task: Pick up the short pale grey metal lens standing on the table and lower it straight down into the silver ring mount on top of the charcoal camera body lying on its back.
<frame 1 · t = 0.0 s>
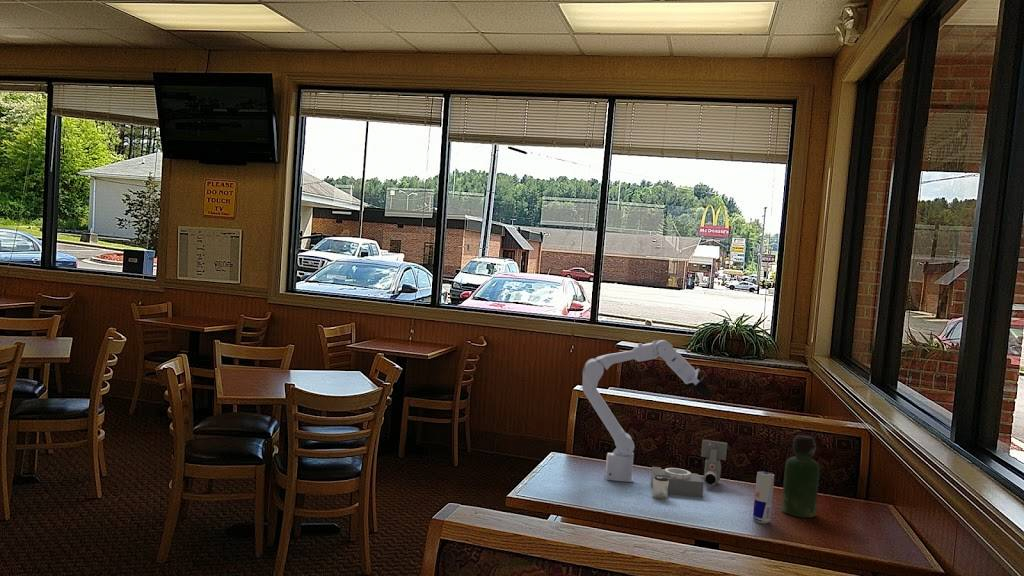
hand: (708, 395, 283), 32 cm above the table, tool tilted 50°, fingers open, 7 cm apart
mount block: (675, 490, 276), on the table
beverage can: (761, 522, 248), on the table
green bottle: (797, 514, 261), on the table
camera: (710, 485, 288), on the table
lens: (659, 497, 266), on the table
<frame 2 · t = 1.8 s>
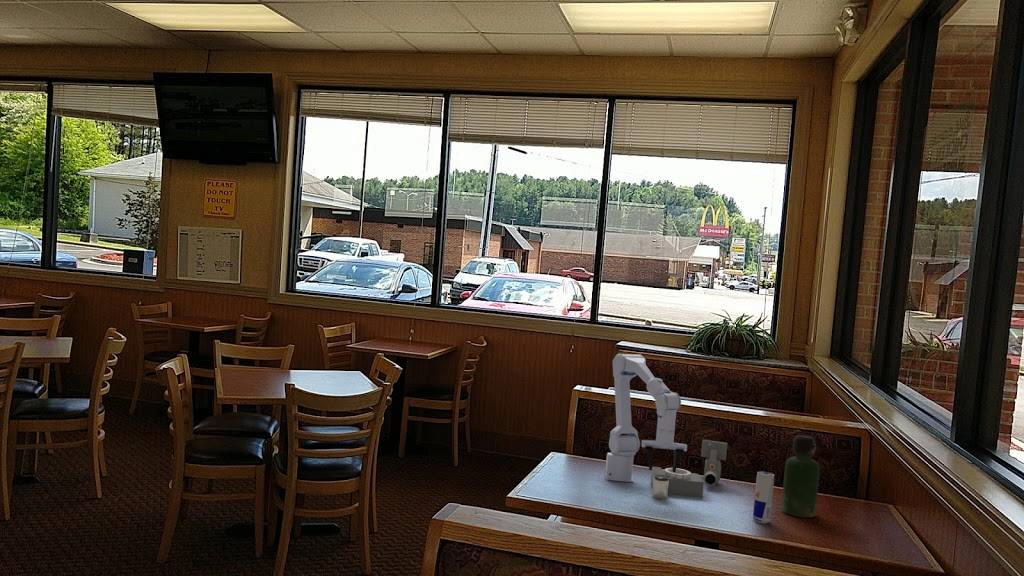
hand: (662, 470, 265), 9 cm above the table, tool pointing down, fingers open, 7 cm apart
nothing on the table moved.
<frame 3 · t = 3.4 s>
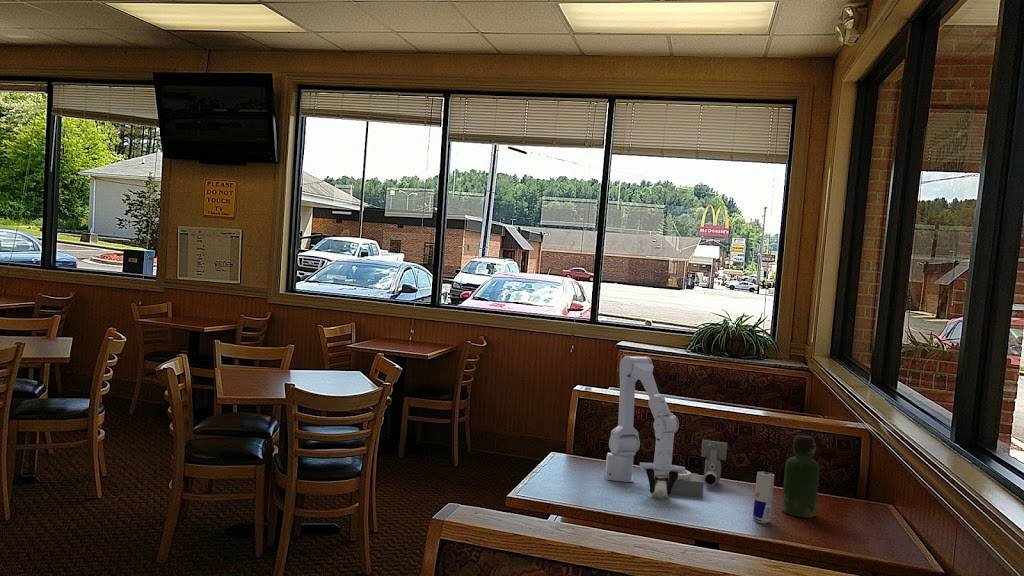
hand: (659, 493, 266), 1 cm above the table, tool pointing down, fingers closed on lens, 5 cm apart
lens: (659, 497, 266), on the table, touching gripper
everything else where it was.
when the fingers open (7 cm above the table, at t = 7.1 s): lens stays where it is, resting on mount block.
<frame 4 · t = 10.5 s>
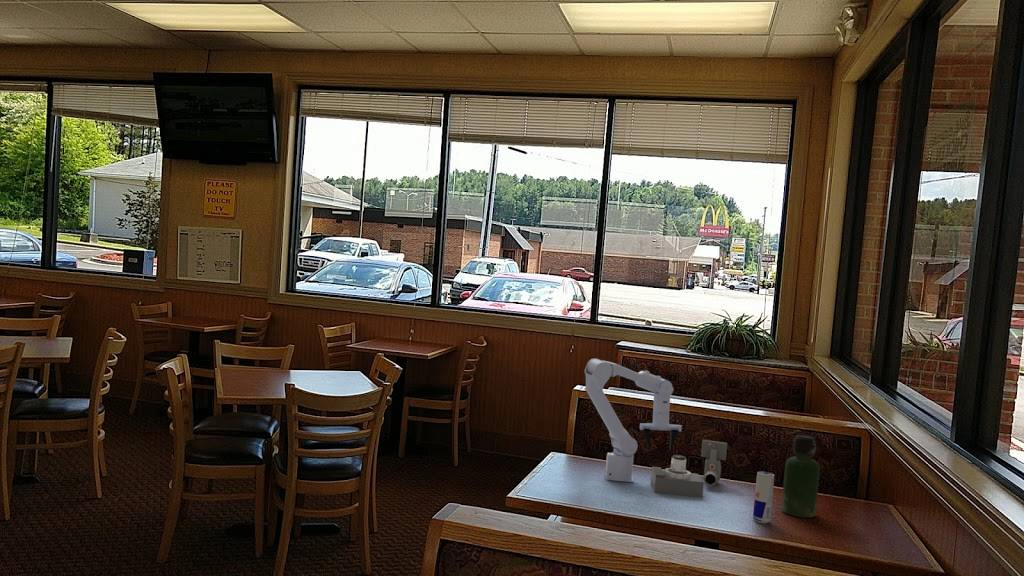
hand: (659, 450, 289), 10 cm above the table, tool pointing down, fingers open, 7 cm apart
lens: (677, 475, 276), point 5 cm above the table, touching mount block
everything else where it was.
at the end: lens 0.3 cm off-centre on the mount block, point 5.0 cm above the mount block's base; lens tilted 0°; the gripper is holding nothing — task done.
